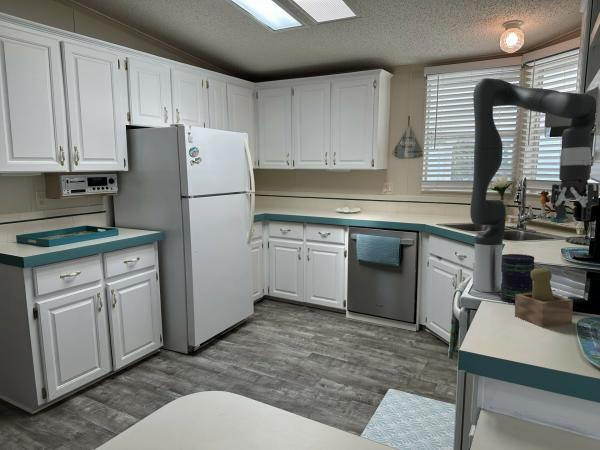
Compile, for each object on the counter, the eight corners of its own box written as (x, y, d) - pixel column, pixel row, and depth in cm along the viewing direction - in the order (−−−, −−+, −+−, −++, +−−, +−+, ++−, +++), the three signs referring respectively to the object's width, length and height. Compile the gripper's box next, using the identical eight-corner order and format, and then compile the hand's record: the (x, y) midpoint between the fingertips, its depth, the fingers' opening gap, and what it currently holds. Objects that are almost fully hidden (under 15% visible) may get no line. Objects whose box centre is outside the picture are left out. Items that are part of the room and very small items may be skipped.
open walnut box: (514, 317, 122) (515, 294, 122) (542, 314, 125) (543, 291, 124) (542, 328, 113) (543, 303, 112) (571, 324, 115) (572, 300, 115)
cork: (558, 310, 114) (555, 271, 113) (533, 310, 116) (530, 272, 115) (553, 303, 120) (550, 265, 119) (529, 303, 122) (526, 267, 121)
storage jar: (537, 305, 133) (538, 259, 131) (503, 304, 135) (504, 258, 134) (528, 297, 142) (530, 254, 141) (497, 296, 145) (498, 253, 144)
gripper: (544, 165, 127) (543, 218, 129) (585, 162, 114) (583, 221, 115) (565, 165, 129) (563, 217, 131) (608, 162, 115) (605, 220, 117)
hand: (572, 219), depth 123 cm, fingers open, 8 cm apart
